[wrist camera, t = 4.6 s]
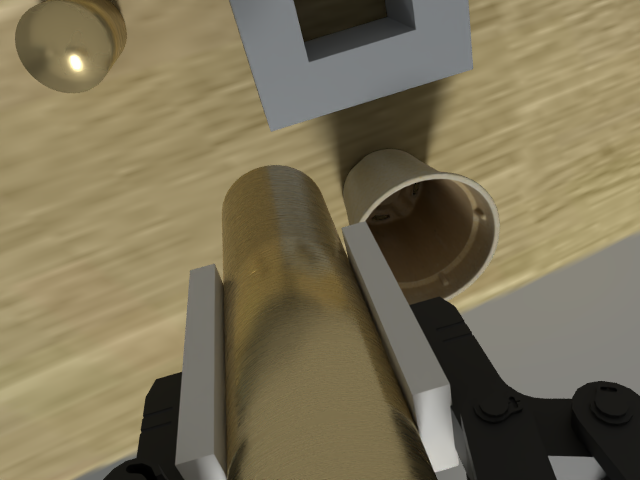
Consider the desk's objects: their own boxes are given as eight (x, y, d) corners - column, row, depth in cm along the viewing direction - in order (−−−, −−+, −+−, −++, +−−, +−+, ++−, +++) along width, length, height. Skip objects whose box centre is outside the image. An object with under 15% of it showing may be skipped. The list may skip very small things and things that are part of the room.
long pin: (239, 267, 21) (270, 708, 9) (207, 181, 19) (192, 613, 7) (333, 240, 21) (486, 641, 9) (312, 152, 19) (476, 527, 7)
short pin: (72, 74, 29) (44, 103, 24) (34, 1, 27) (-4, 16, 22) (138, 54, 29) (125, 79, 24) (106, -20, 27) (84, -10, 22)
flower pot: (299, 160, 35) (324, 219, 28) (424, 101, 34) (483, 146, 27) (346, 259, 40) (378, 332, 33) (455, 209, 40) (512, 271, 32)
